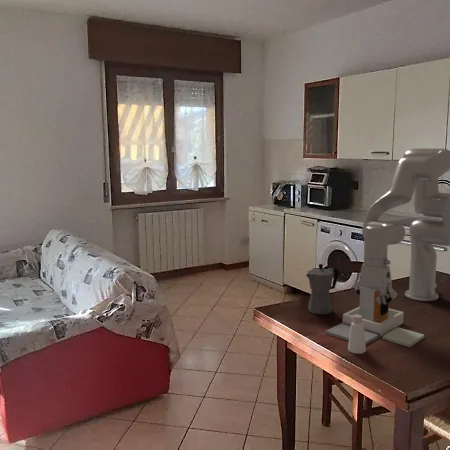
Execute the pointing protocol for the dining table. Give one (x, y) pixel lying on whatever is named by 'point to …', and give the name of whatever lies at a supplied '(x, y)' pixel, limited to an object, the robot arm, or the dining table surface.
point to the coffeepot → (321, 289)
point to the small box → (371, 305)
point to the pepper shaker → (357, 336)
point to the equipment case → (367, 325)
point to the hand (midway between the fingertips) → (374, 311)
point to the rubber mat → (403, 337)
